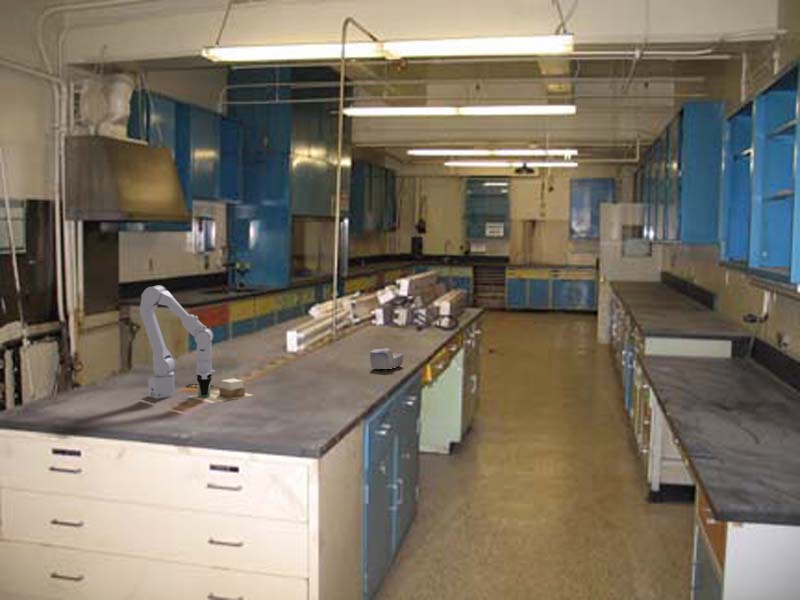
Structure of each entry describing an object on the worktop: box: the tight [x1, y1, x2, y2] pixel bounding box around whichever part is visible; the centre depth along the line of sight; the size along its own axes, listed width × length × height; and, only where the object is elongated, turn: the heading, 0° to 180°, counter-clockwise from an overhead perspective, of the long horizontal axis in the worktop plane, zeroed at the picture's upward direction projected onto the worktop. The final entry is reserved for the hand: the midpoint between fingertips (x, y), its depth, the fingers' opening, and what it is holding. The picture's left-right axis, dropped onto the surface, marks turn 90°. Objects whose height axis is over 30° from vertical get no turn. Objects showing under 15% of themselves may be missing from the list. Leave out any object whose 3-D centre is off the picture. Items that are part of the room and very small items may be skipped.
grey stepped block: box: [369, 347, 404, 370], centre depth 372 cm, size 13×11×20 cm
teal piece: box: [197, 383, 211, 397], centre depth 299 cm, size 4×4×4 cm
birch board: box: [188, 390, 253, 404], centre depth 301 cm, size 20×16×1 cm
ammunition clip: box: [177, 383, 214, 395], centre depth 310 cm, size 11×2×12 cm
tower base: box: [218, 387, 246, 398], centre depth 302 cm, size 7×7×3 cm
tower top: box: [220, 378, 244, 390], centre depth 301 cm, size 6×6×3 cm
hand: (204, 393), depth 299 cm, fingers closed on teal piece, 4 cm apart
